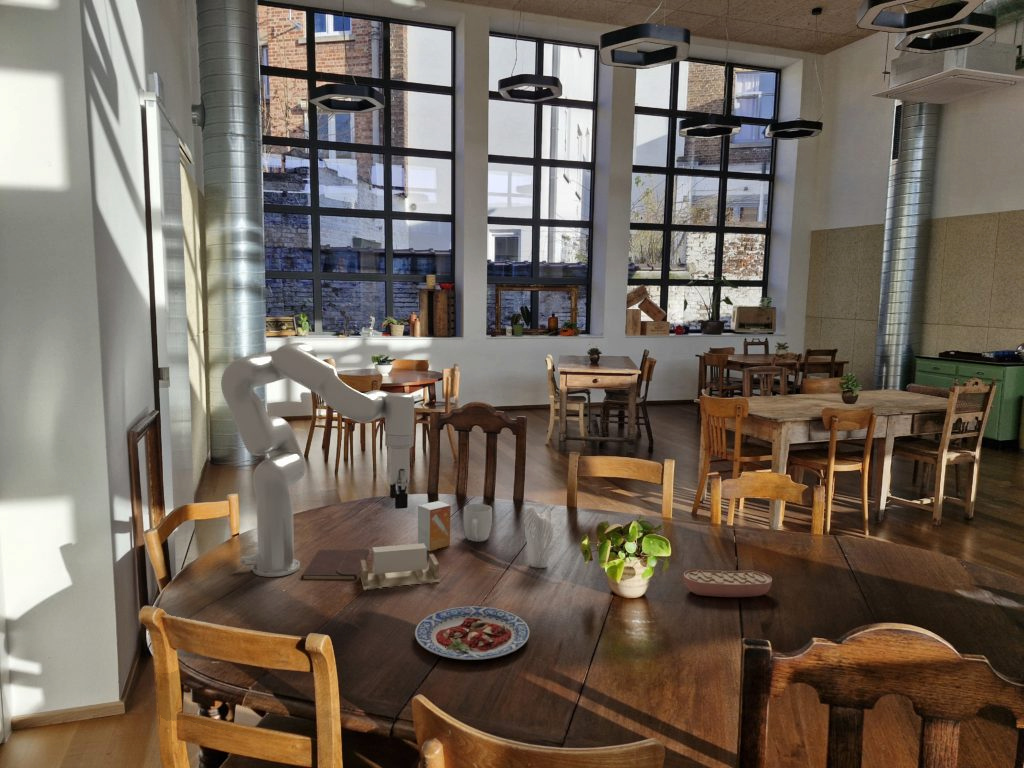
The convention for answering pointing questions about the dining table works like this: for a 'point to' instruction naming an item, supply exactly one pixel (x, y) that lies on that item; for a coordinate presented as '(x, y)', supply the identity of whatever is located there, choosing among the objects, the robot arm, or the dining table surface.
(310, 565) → the notebook
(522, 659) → the dining table surface
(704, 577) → the oval trinket tray
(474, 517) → the mug
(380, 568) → the clay bar
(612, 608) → the dining table surface
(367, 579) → the rack
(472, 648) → the ceramic plate
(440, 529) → the small box
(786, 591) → the dining table surface
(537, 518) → the white fluted vase
